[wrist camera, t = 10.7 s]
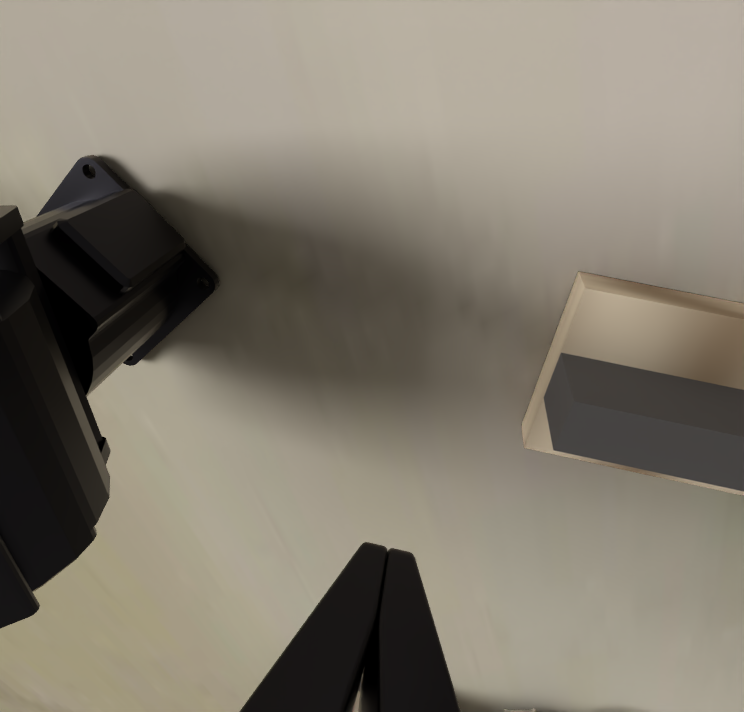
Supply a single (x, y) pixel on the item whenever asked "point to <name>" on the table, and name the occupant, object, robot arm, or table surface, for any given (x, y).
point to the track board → (642, 344)
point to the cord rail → (647, 420)
